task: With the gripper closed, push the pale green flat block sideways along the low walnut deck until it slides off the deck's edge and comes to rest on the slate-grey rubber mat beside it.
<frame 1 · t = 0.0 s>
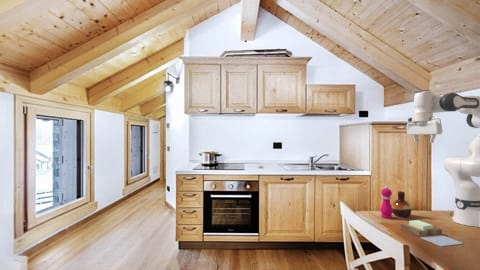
hand: (423, 142, 154), 48 cm above the table, tool pointing down, fingers open, 8 cm apart
mat: (441, 240, 134), on the table
pale green flat block: (420, 226, 146), point 3 cm above the table, touching deck
pepper mill: (386, 217, 173), on the table
vase: (401, 216, 176), on the table
deck: (420, 232, 146), on the table
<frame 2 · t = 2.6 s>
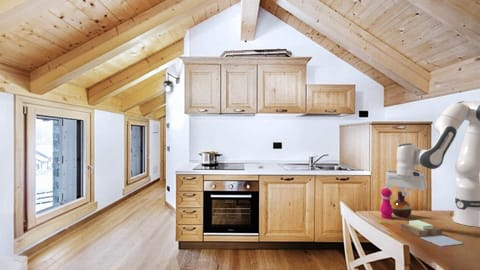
hand: (405, 195, 155), 18 cm above the table, tool pointing down, fingers closed
nothing on the table moved.
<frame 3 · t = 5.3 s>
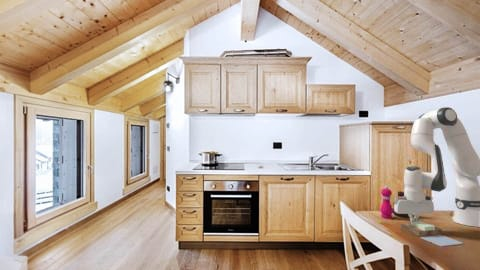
hand: (413, 221, 150), 5 cm above the table, tool pointing down, fingers closed
pale green flat block: (422, 227, 144), point 3 cm above the table, touching gripper
everything else where it was.
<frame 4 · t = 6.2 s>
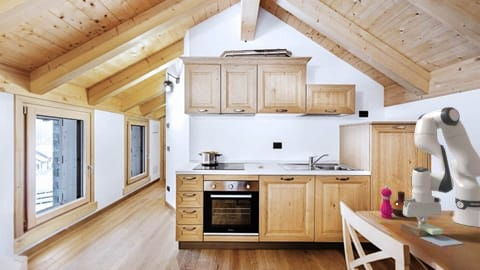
hand: (422, 224, 145), 5 cm above the table, tool pointing down, fingers closed, pressing on pale green flat block
pale green flat block: (430, 230, 139), point 3 cm above the table, touching gripper
everything else where it was.
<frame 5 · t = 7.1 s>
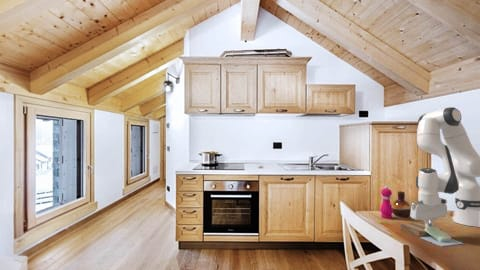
hand: (428, 226, 141), 5 cm above the table, tool pointing down, fingers closed
pale green flat block: (436, 235, 136), point 2 cm above the table, tilted 18°, touching gripper
everything else where it was.
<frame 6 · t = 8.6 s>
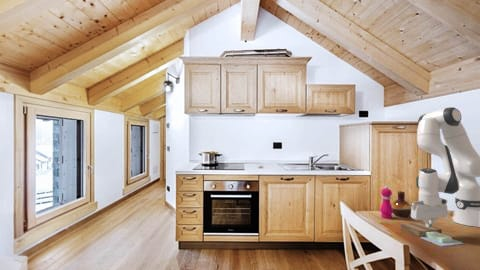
hand: (429, 226, 141), 5 cm above the table, tool pointing down, fingers closed
pale green flat block: (438, 238, 135), resting on mat
everything else where it was.
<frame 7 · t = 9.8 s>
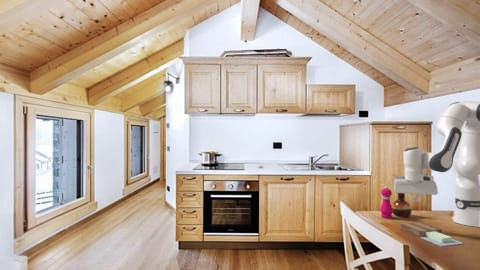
hand: (416, 201, 149), 16 cm above the table, tool pointing down, fingers closed
nothing on the table moved.
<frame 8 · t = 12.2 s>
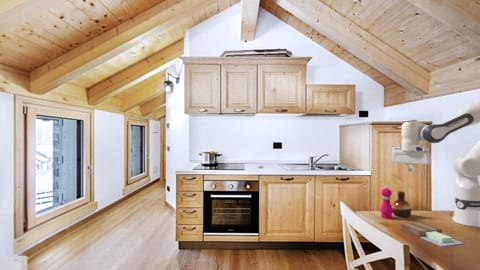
hand: (410, 171, 159), 31 cm above the table, tool pointing down, fingers closed
nothing on the table moved.
at the end: pale green flat block resting on mat; pale green flat block inside the target area (1.7 cm from its centre), resting on mat; pale green flat block moved 10.9 cm from its start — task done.
